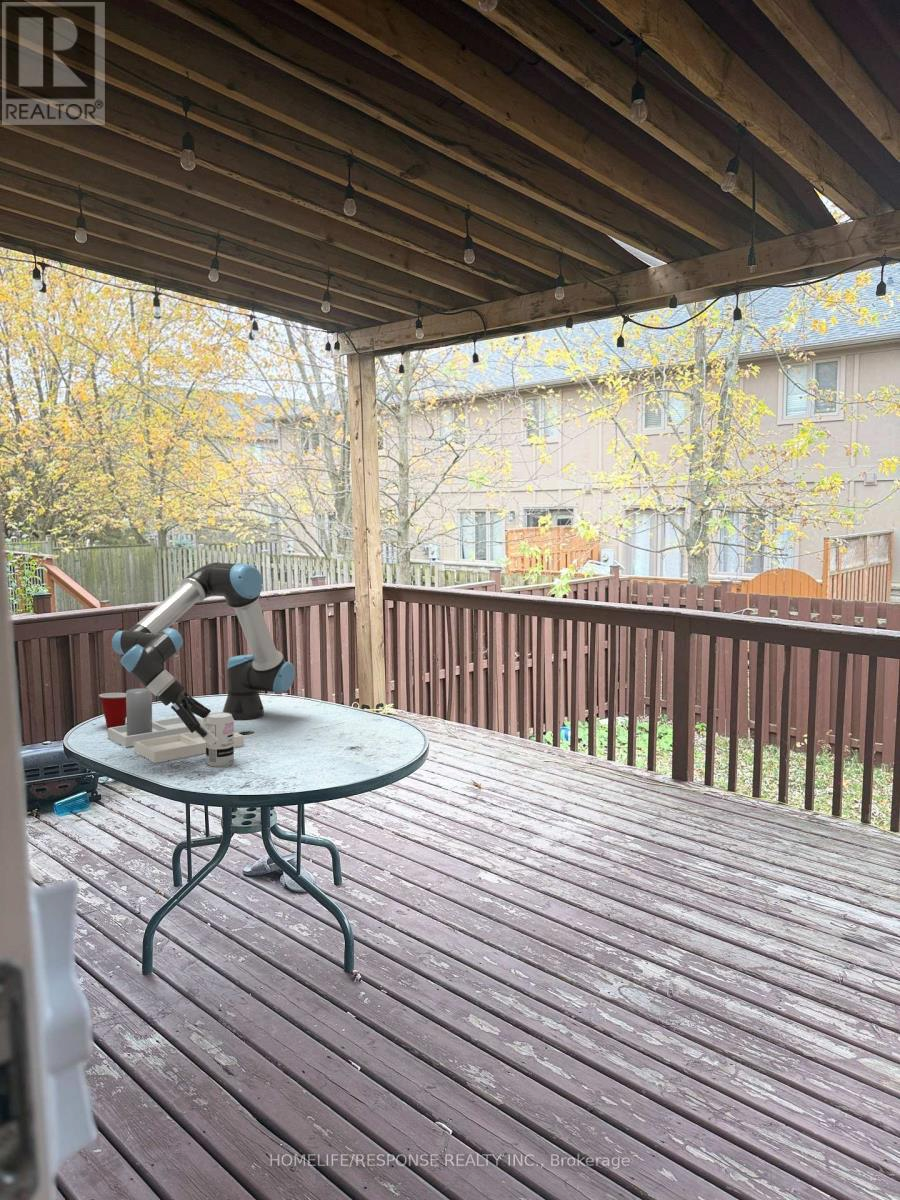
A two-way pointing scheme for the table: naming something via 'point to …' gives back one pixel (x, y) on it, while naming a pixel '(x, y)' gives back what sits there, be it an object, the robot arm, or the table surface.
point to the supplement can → (220, 739)
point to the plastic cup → (114, 708)
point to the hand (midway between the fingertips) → (218, 736)
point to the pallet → (176, 746)
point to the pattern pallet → (156, 731)
